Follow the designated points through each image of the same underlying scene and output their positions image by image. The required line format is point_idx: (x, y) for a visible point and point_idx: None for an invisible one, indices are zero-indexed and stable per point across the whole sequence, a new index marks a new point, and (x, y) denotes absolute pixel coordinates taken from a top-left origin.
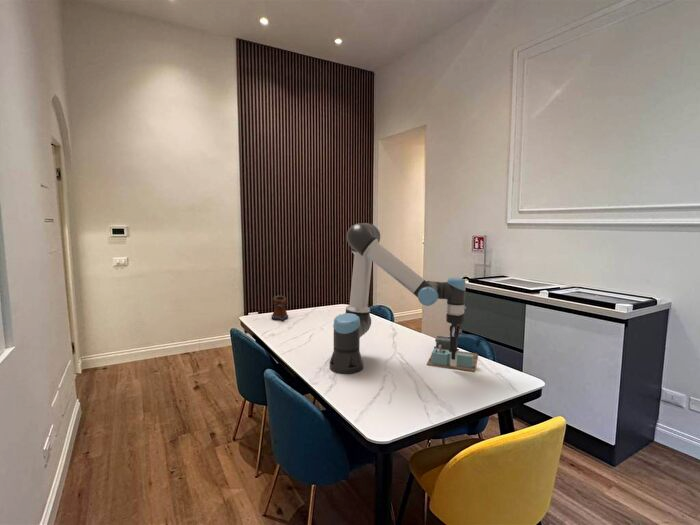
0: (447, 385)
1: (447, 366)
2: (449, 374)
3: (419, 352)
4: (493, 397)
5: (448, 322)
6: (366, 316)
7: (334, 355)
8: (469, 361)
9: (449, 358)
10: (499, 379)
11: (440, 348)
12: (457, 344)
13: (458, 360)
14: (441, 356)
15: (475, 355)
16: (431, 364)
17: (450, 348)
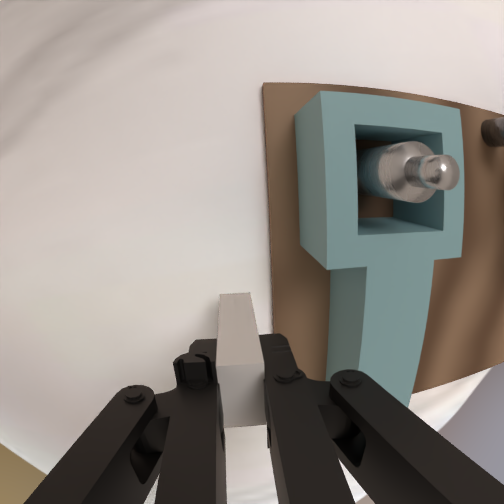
0: (5, 302)
1: (281, 253)
2: (153, 289)
3: (465, 33)
4: (43, 463)
5: None
6: None
7: None
8: None
9: (348, 272)
10: (231, 493)
11: (414, 181)
12: (344, 459)
13: (342, 342)
14: (319, 203)
15: (500, 356)
16: (268, 120)
17: (97, 421)
